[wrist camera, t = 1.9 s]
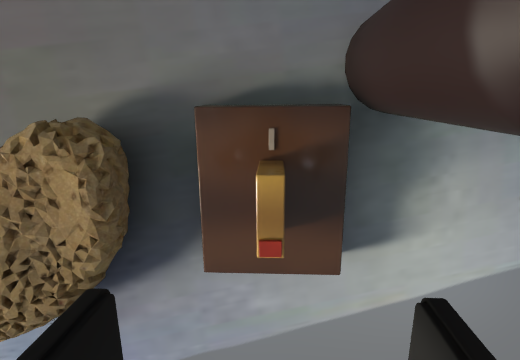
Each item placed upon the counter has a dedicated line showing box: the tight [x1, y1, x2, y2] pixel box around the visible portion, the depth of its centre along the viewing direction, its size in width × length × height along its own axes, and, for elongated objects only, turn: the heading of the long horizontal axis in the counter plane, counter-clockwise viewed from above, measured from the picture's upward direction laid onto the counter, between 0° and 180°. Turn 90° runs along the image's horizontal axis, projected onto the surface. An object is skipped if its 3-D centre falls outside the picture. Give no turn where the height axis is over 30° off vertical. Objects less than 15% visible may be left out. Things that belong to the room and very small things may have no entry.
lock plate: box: [194, 104, 351, 275], centre depth 23 cm, size 12×10×3 cm
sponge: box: [0, 118, 130, 342], centre depth 23 cm, size 13×8×20 cm
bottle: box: [345, 0, 520, 136], centre depth 12 cm, size 7×7×20 cm
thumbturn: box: [256, 161, 285, 258], centre depth 20 cm, size 5×2×4 cm, turn 0°
